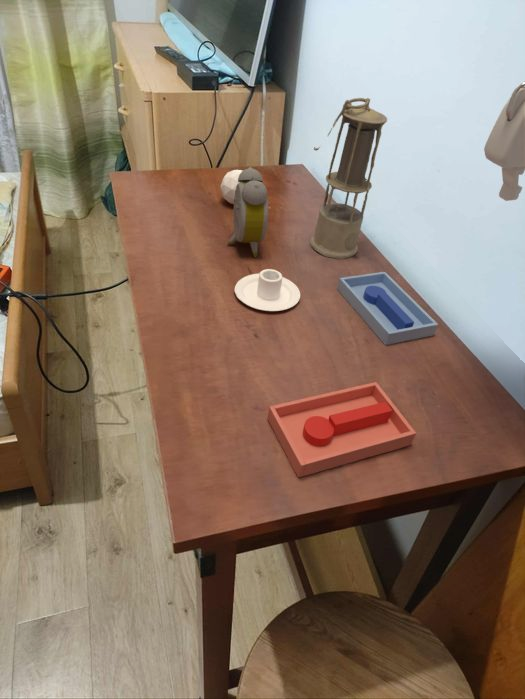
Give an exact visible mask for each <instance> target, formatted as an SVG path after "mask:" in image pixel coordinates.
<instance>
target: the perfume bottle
mask: <svg viewBox="0 0 525 699" xmlns="http://www.w3.org/2000/svg"><path fill="white" fill-rule="evenodd" d="M243 170H244V169H243ZM243 170H242V169H232V170H230V171H227V173H226V174H225V175H224V177H223V178H222V180H221V183H220V192H221V194H222V198H223V199H224V200H226V201H227V202H228V203H229V204H230V205H234V197H235V190H236V186H237V184H238V183H240V182H238V178H239V175H240V173H241V172H242V171H243ZM241 183H242V182H241Z"/></svg>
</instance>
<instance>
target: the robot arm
mask: <svg viewBox="0 0 525 699" xmlns="http://www.w3.org/2000/svg"><path fill="white" fill-rule="evenodd" d="M483 151H484V156H485V159H486V160H488V161H490V162H491V163H492V164H495V165H496V166H498V167H501V175H502V176H501V177H502V184H501V188H500V189H499V192H498V197H499V198H500V199H502V200H504V201H506V202H507V201H508V202H510V201H516V200H518V199H519V196H520V194H521V193H522V190H523V187H522V186H521V185H519V180H520V179H519V178H520V176H521V175H522V176H523V174H524V173H525V81H523V82H522V83H521V84H519V85H518V86H516V87H515V88H514V89H513V91H512V93H511V95H510V97H509V99H508V100H507V101H506V103H505V104H504V105H503V108H502V109H501V111H500V113H499V115H498V117H497V119H496V121H495V122H494V125H493V127H492V129H491V131H490V133H489V135H488V138H487V140H486V142H485V145H484V148H483Z"/></svg>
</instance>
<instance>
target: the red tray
mask: <svg viewBox="0 0 525 699" xmlns="http://www.w3.org/2000/svg"><path fill="white" fill-rule="evenodd" d="M382 402H386V403H387V404H388V406H389V407H390V408H391V410H392V413H391V415H390V418H389V420H388V422H386V423H382V424H378V425H374V426H370V427H367V428H363V429H359V430H355V431H351V432H348V433H344V434H340V435H336V436H332V440H331V442H330V443H329V444H327V445H325V446H314V445H311V444H310V443H308V442H307V441H306V440H305V439H304V437H303V428H304V424H305V421H306V420H307V419H308V418H310V417H313V416H321V417H324V418H326V419H329V416H330V415H333V414H337V413H341V412H345V411H350V410H354V409H358V408H362V407H366V406H370V405H374V404H378V403H382ZM267 421H268V423H269V425H270V427H271V429H272V431H273V432H274V434H275V437H276V438H277V440H278V442H279V444H280V446H281V447H282V449H283V451H284V453H285V455H286V457H287V459H288V461H289V462H290V463H289V464H290V465H291V466H292V469H293V470H294V472H295V474H296V476H297V478H302V477H306V476H309V475H312V474H315V473H320V472H323V471H326V470H330V469H333V468H336V467H340V466H344V465H346V464H349V463H353V462H356V461H361V460H364V459H368V458H370V457H374V456H378V455H381V454H385V453H389V452H391V451H394V450H398V449H402V448H405V447H409V446H412V444H413V441H414V439H415V438H416V435H417V432H416V431H415V430H414V428H413V427H412V426H411V425H410V423H409V422H408V420H407V419H406V418H405V416H403V414H402V413H401V412H400V410H399V409H398V408H397V406H396V405H395V404H394V402H393V401H392V400H391V399H390V397H389V396H388V395H387V394H386V392H385V391H384V390H383V388H381V386H380V384H378V382H377V381H374V382H370V383H365V384H361V385H356V386H353V387H348V388H344V389H339V390H334V391H330V392H326V393H322V394H318V395H317V394H316V395H313V396H308V397H304V398H301V399H296V400H292V401H287V402H282V403H279V404H274V405H270V406H269V407H268V413H267Z"/></svg>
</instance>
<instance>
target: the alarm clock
mask: <svg viewBox="0 0 525 699" xmlns="http://www.w3.org/2000/svg"><path fill="white" fill-rule="evenodd" d="M238 182H240V183H238V184H237V186H236V190H235V197H234V204H233V231H234V232H233V234H232V235H231V237H230V238H229V239H228V241H227V243H226V244H227V245H228V246H231V245H233V244H234V243H236V242H238V243H244V244H245V243H247V244H248V243H249V245H250V249H251V251H252V252H251V253H252V255H253V258H255V257H258V252H259V251H258V248H259V243H262V242H263V241H264V240H265V238H266V235H267V229H268V221H269V220H268V219H269V199H268V189H267V187H266V185H265V184H264V183H263V176H262V174H261V172H260V171H258V170H257V169H255V168H253V167H252V166H249V167H248V168H245V169H243V171H242V172H241V173H240V175H239V178H238ZM241 182H242V183H241Z"/></svg>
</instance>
